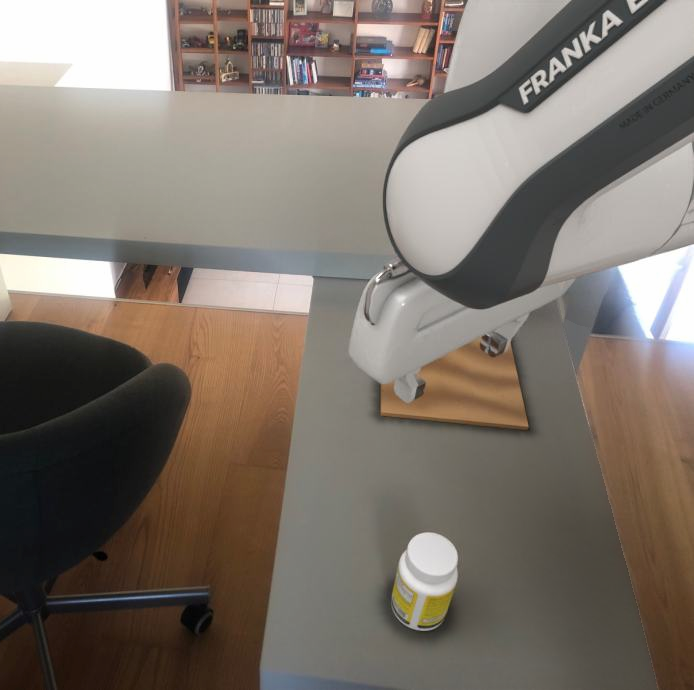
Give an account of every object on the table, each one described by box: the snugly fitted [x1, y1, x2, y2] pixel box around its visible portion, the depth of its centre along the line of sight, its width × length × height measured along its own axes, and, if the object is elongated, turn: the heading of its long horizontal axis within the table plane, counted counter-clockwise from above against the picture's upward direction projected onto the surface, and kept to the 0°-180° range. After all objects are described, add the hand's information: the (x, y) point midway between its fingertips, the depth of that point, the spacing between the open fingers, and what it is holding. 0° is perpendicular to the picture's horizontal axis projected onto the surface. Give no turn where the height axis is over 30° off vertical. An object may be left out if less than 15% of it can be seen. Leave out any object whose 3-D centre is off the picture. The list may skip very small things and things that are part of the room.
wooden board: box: [380, 337, 530, 431], centre depth 83 cm, size 16×16×1 cm
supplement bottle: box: [390, 531, 459, 632], centre depth 58 cm, size 5×5×8 cm
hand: (451, 372), depth 56 cm, fingers open, 8 cm apart
